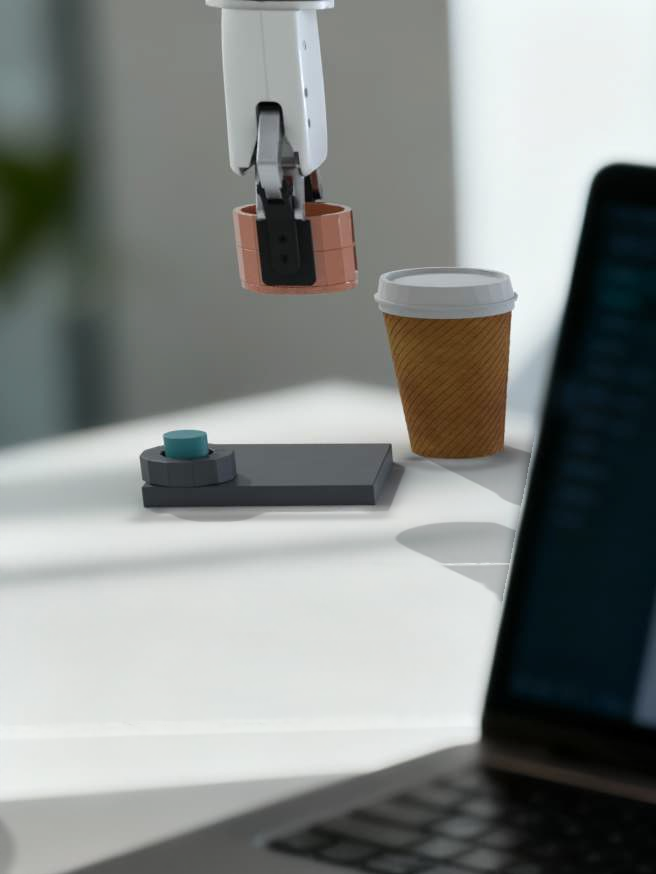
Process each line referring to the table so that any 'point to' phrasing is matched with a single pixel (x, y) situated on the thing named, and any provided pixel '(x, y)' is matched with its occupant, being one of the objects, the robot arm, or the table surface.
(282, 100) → the robot arm
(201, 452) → the button
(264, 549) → the table surface
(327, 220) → the pink cylindrical container
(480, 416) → the disposable coffee cup
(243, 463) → the dark grey flat block
